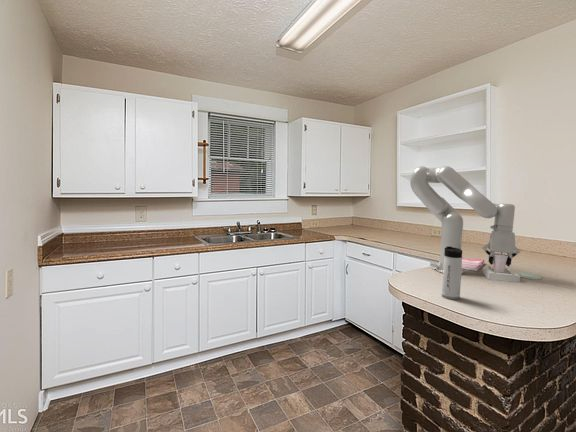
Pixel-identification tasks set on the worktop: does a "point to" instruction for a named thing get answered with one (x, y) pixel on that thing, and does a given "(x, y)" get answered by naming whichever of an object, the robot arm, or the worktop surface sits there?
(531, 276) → the coaster
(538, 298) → the worktop surface
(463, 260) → the dish towel
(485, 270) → the socket block
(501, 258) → the smoothie
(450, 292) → the travel mug
